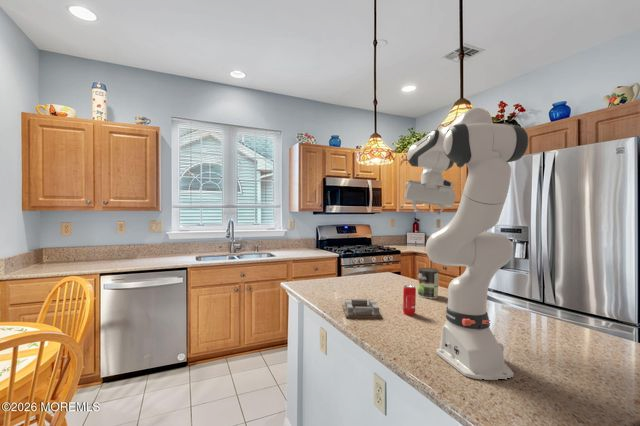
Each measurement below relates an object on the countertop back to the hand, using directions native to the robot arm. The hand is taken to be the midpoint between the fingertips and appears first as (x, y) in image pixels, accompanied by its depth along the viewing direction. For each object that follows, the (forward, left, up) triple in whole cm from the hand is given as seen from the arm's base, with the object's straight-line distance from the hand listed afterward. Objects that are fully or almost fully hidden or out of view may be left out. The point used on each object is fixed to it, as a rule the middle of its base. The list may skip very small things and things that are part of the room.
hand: (427, 213), depth 132 cm
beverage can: (+4, +6, -44) cm, 45 cm away
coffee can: (+32, -13, -44) cm, 56 cm away
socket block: (+5, +27, -44) cm, 52 cm away
